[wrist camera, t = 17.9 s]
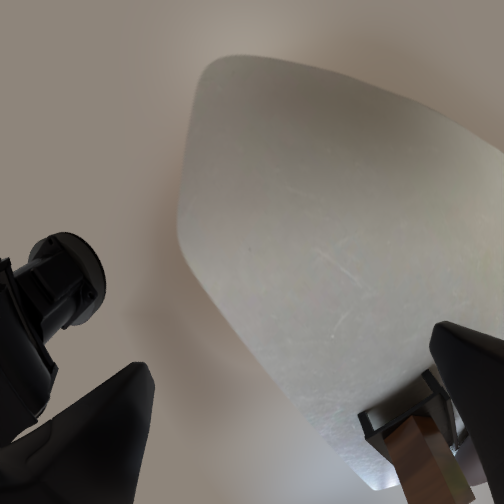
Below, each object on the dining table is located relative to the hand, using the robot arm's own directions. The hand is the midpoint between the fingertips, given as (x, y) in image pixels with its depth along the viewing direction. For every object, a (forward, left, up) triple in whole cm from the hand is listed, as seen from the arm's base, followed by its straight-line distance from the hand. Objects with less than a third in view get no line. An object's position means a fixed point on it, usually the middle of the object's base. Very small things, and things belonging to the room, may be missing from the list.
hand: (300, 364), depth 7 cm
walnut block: (+1, -26, -9) cm, 28 cm away
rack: (+1, -34, -13) cm, 36 cm away
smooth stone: (+16, -60, -13) cm, 63 cm away
